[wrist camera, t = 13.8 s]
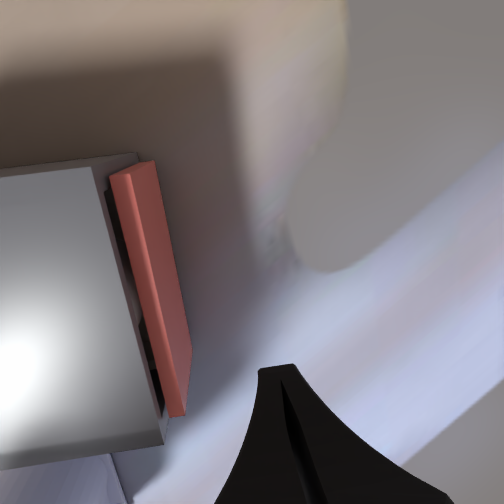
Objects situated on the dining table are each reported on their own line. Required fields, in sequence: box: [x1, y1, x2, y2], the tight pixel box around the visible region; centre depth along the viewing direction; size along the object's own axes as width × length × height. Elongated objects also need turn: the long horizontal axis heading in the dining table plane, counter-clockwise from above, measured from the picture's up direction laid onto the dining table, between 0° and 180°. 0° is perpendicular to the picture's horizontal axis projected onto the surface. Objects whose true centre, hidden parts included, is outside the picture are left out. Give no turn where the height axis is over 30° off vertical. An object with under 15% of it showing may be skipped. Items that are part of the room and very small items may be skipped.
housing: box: [0, 152, 169, 471], centre depth 18 cm, size 13×11×7 cm
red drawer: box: [103, 161, 193, 418], centre depth 18 cm, size 12×11×6 cm
